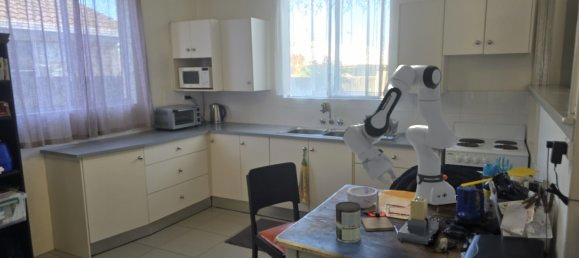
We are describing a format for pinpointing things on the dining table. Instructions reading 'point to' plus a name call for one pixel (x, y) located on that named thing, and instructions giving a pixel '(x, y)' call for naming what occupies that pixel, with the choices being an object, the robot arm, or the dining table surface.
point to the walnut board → (377, 224)
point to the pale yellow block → (419, 209)
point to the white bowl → (362, 196)
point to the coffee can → (348, 222)
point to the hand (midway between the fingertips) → (391, 181)
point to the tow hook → (377, 212)
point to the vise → (418, 229)
